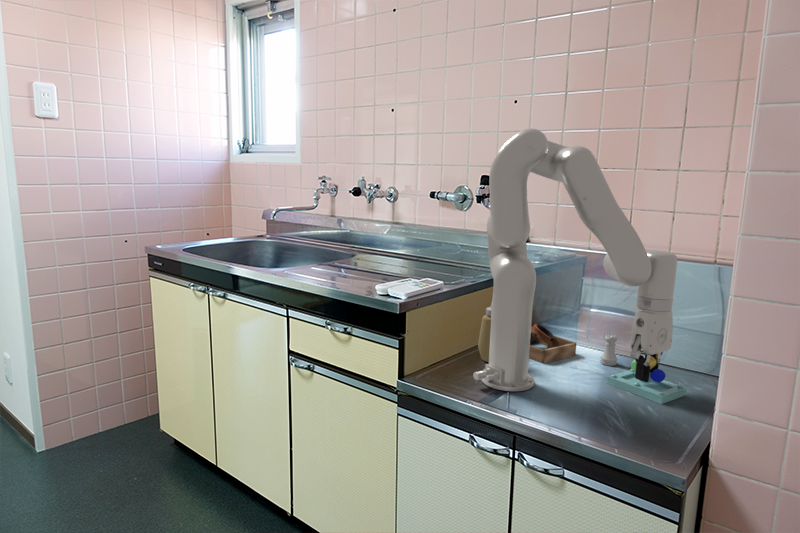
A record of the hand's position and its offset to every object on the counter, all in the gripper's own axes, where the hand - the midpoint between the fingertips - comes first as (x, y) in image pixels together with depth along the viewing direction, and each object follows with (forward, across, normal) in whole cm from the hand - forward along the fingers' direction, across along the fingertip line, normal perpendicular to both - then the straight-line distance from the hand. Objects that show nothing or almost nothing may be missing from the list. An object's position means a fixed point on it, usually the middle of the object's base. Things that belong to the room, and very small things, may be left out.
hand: (645, 378), depth 128 cm
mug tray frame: (+3, -1, +33) cm, 33 cm away
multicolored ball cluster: (+1, 0, 0) cm, 1 cm away
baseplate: (+3, 0, 0) cm, 3 cm away
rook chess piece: (+3, +8, +16) cm, 18 cm away
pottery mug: (+3, -1, +35) cm, 35 cm away
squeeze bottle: (+3, -18, +34) cm, 38 cm away
